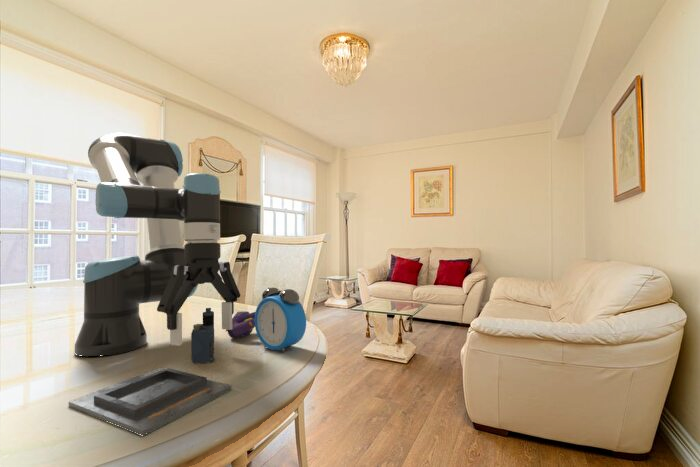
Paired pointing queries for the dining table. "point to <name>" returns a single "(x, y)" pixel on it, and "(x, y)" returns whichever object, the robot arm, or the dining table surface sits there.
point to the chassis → (150, 399)
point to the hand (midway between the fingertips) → (203, 336)
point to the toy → (242, 324)
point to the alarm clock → (280, 319)
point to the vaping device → (203, 339)
